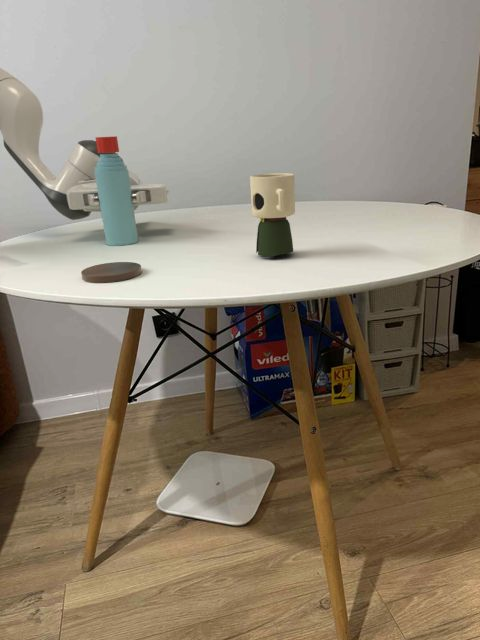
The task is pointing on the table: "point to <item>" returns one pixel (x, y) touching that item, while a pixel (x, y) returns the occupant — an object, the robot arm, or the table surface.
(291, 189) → the character mug
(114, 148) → the cap
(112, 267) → the coaster
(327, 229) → the table surface
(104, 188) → the bottle
